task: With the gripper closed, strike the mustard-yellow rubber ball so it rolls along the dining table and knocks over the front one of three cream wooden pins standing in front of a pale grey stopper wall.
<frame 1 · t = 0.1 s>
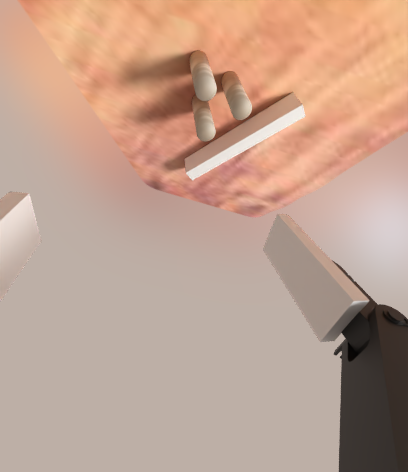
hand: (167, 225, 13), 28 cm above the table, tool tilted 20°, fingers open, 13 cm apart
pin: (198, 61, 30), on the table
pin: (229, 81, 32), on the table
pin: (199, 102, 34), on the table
stopper wall: (235, 133, 38), on the table
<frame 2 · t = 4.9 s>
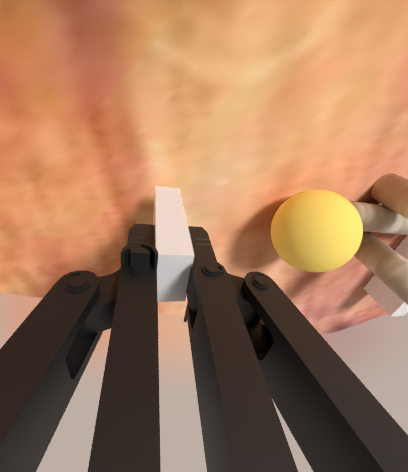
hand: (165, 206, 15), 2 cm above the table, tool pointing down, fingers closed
ball: (313, 231, 17), on the table
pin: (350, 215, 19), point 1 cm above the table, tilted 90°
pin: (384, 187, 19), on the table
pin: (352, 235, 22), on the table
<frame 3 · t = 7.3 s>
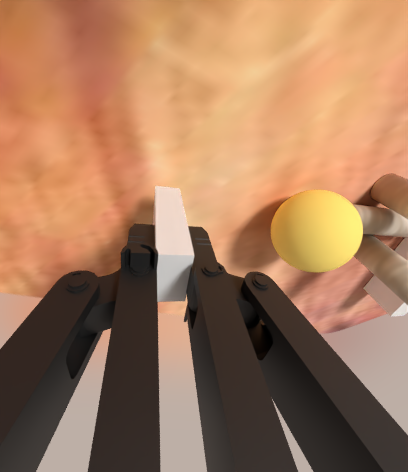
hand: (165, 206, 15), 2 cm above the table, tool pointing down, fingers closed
ball: (313, 231, 17), on the table
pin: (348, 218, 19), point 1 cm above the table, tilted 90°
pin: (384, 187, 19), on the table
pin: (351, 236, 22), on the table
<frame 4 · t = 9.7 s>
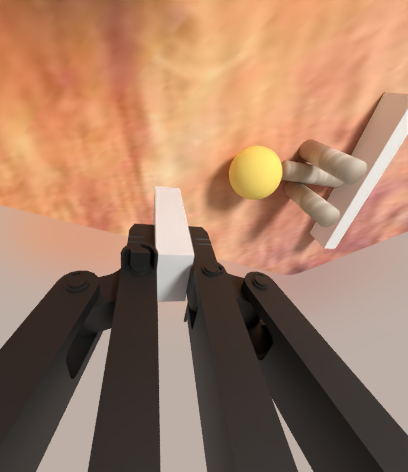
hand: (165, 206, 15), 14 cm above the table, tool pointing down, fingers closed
ball: (255, 173, 26), on the table
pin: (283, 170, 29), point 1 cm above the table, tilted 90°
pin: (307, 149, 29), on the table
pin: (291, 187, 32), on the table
stopper wall: (346, 175, 32), on the table
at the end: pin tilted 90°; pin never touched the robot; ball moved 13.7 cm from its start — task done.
